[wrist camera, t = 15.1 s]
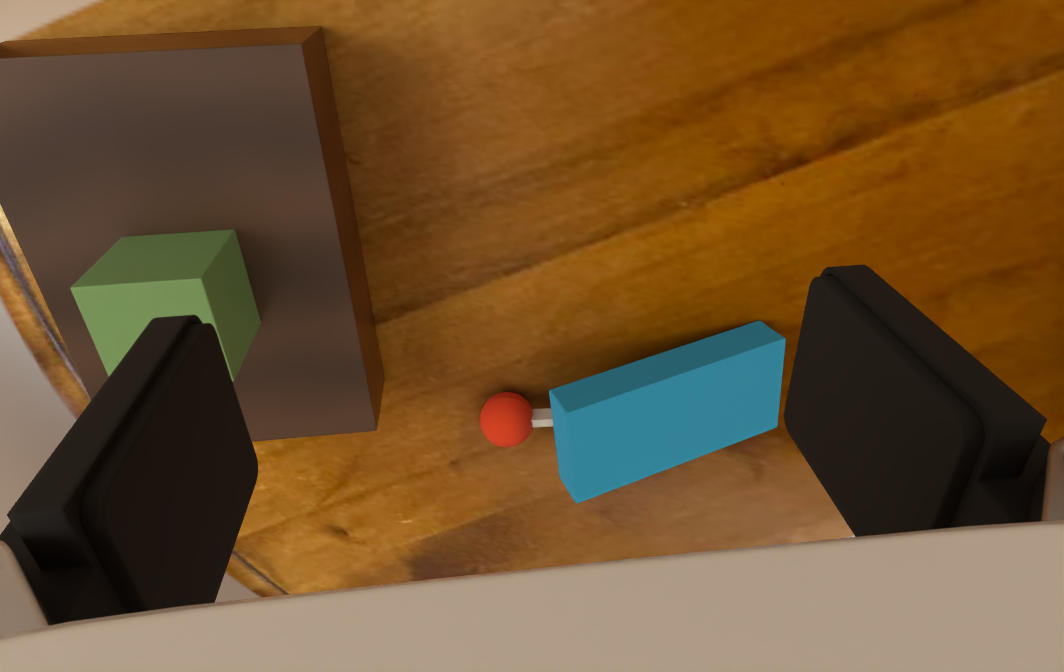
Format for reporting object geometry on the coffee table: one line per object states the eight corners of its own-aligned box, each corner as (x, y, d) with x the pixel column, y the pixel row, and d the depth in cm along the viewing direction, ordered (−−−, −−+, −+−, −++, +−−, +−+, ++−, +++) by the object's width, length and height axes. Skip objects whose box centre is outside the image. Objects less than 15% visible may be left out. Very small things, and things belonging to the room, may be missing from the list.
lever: (717, 289, 46) (464, 368, 42) (785, 337, 41) (502, 435, 36) (714, 372, 50) (481, 453, 45) (776, 427, 44) (518, 526, 40)
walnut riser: (4, 41, 31) (-67, 61, 27) (321, 25, 32) (301, 43, 28) (150, 398, 41) (115, 453, 37) (384, 379, 42) (377, 430, 38)
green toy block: (121, 236, 31) (69, 287, 27) (235, 228, 31) (201, 278, 27) (157, 331, 34) (114, 391, 29) (261, 323, 34) (234, 381, 30)
